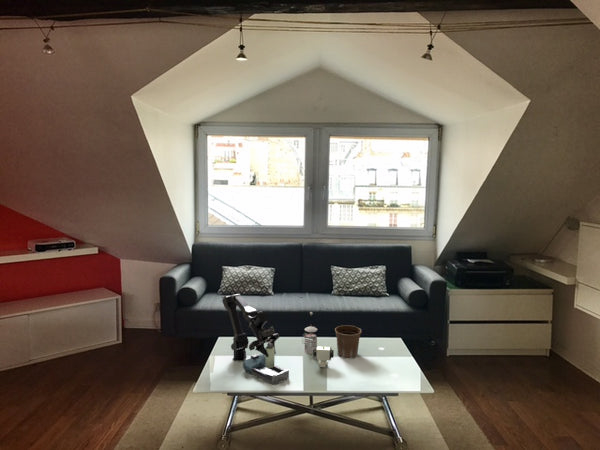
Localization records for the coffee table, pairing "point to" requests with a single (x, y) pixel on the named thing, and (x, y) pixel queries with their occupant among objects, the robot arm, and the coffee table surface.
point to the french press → (313, 342)
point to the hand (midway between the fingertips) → (271, 355)
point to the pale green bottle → (270, 356)
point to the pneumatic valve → (323, 355)
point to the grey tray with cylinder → (264, 370)
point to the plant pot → (347, 341)
